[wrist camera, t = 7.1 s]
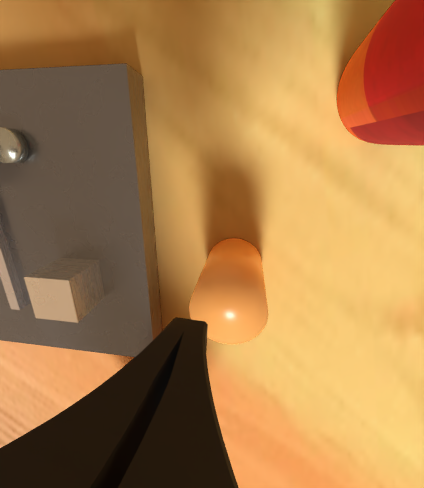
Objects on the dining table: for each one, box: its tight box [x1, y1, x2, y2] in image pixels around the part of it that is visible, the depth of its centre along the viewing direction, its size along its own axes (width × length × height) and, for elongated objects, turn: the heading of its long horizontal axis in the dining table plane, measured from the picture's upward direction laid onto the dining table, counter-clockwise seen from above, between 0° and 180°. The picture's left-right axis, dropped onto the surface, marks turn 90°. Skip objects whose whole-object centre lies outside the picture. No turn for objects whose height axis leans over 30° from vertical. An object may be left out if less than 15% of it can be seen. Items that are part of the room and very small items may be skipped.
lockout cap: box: [189, 238, 268, 344], centre depth 15 cm, size 4×4×6 cm
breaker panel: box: [0, 64, 162, 357], centre depth 17 cm, size 20×20×5 cm
